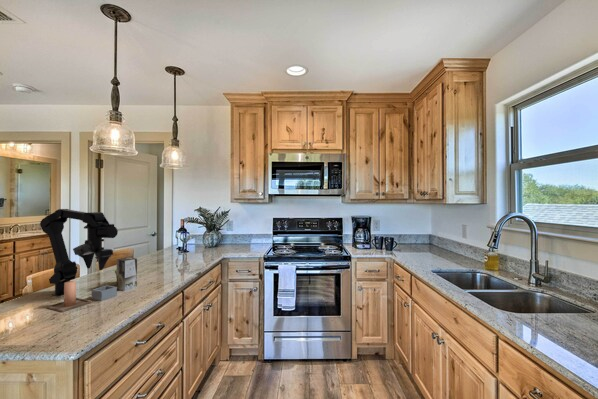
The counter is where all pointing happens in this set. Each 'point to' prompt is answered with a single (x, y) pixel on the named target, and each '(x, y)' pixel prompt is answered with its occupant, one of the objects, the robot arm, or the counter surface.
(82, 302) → the tray
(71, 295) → the dowel
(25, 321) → the counter surface
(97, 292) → the open box
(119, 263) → the coffee box
